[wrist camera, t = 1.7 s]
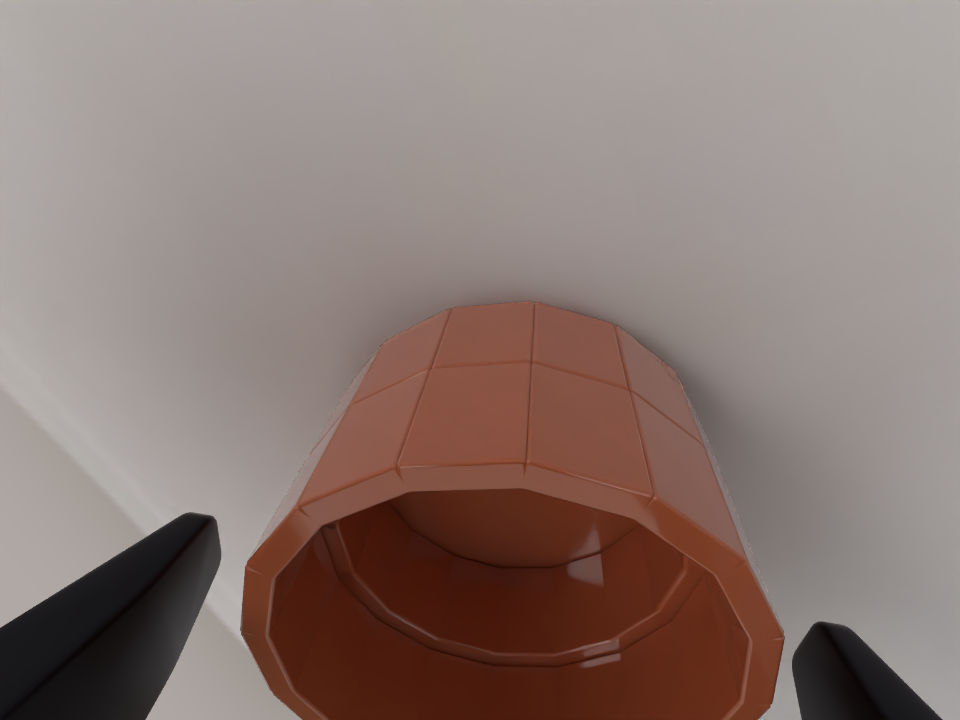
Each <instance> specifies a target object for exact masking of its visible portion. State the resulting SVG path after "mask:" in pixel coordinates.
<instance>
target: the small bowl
mask: <svg viewBox="0 0 960 720" xmlns="http://www.w3.org/2000/svg"><path fill="white" fill-rule="evenodd" d="M240 631H241V635H242V637H243V639H244V641H245V643H246V645H247V647H248V649H249V651H250V652H251V654H252V656H253V658H254V660H255V662H256V664H257V666H258V668H259V670H260V672H261V674H262V676H263V678H264V680H265V682H266V684H267V685H268V687H269V689H270V691H272V693H273V694H274V695H275V696H276V697H277V698H278V699H279V700H280V701H281V702H283V703H284V704H285V705H286V706H287V707H288V708H289V709H291V710H292V711H293V712H294V713H295V714H296V715H298V716H299V717H300V718H301V719H302V720H758V719H759V718H760V717H761V716H762V715H763V714H764V713H765V712H766V711H767V710H768V709H769V708H770V705H771V704H772V702H773V697H774V692H775V686H776V681H777V676H778V671H779V665H780V660H781V655H782V650H783V644H784V638H785V637H784V631H783V629H782V626H781V624H780V621H779V619H778V616H777V613H776V611H775V608H774V606H773V603H772V601H771V598H770V596H769V593H768V591H767V588H766V586H765V583H764V581H763V578H762V576H761V573H760V570H759V568H758V565H757V563H756V560H755V558H754V555H753V553H752V550H751V548H750V545H749V543H748V540H747V538H746V535H745V533H744V530H743V528H742V525H741V522H740V520H739V517H738V515H737V512H736V510H735V508H734V505H733V502H732V500H731V497H730V495H729V492H728V490H727V487H726V485H725V482H724V480H723V477H722V474H721V472H720V469H719V467H718V464H717V462H716V459H715V457H714V454H713V452H712V449H711V447H710V444H709V442H708V439H707V437H706V434H705V432H704V429H703V427H702V425H701V423H700V421H699V419H698V417H697V414H696V412H695V410H694V408H693V406H692V404H691V402H690V400H689V398H688V396H687V393H686V391H685V389H684V387H683V385H682V383H681V381H680V379H679V377H678V375H677V374H676V373H675V371H674V370H673V369H672V368H671V367H669V366H668V365H667V364H666V363H664V362H663V361H662V360H661V359H659V358H658V357H657V356H656V355H654V354H653V353H652V352H651V351H649V350H648V349H647V348H645V347H644V346H643V345H642V344H640V343H639V342H638V341H637V340H635V339H634V338H633V337H632V336H630V335H629V334H628V333H627V332H625V331H624V330H623V329H622V328H620V327H619V326H617V325H613V324H612V323H609V322H606V321H602V320H599V319H595V318H592V317H588V316H585V315H581V314H578V313H574V312H571V311H567V310H564V309H561V308H557V307H554V306H550V305H547V304H543V303H540V302H536V303H535V304H534V302H533V301H525V302H513V303H500V304H488V305H476V306H463V307H454V308H452V309H447V310H445V311H443V312H441V313H439V314H437V315H435V316H433V317H431V318H429V319H427V320H425V321H423V322H421V323H419V324H417V325H415V326H413V327H411V328H409V329H407V330H405V331H403V332H401V333H399V334H397V335H395V336H393V337H391V338H389V339H387V340H386V341H385V343H384V344H382V345H381V346H380V347H379V348H378V350H377V351H376V352H375V353H374V355H373V356H372V357H371V358H370V360H369V361H368V362H367V364H366V365H365V366H364V367H363V369H362V370H361V371H360V373H359V374H358V375H357V376H356V378H355V379H354V380H353V381H352V383H351V384H350V385H349V387H348V388H347V389H346V391H345V392H344V394H343V396H342V398H341V399H340V401H339V403H338V405H337V406H336V408H335V410H334V412H333V413H332V415H331V417H330V419H329V420H328V422H327V424H326V426H325V427H324V429H323V431H322V433H321V434H320V436H319V438H318V440H317V441H316V443H315V445H314V447H313V448H312V450H311V452H310V454H309V456H308V458H307V459H306V460H305V462H304V464H303V465H302V467H301V469H300V471H299V472H298V474H297V476H296V477H295V479H294V481H293V483H292V484H291V486H290V488H289V490H288V491H287V493H286V495H285V497H284V498H283V500H282V502H281V504H280V505H279V507H278V509H277V511H276V512H275V514H274V516H273V518H272V519H271V521H270V523H269V525H268V526H267V528H266V530H265V532H264V533H263V535H262V537H261V539H260V540H259V542H258V544H257V546H256V547H255V549H254V551H253V553H252V554H251V556H250V558H249V560H248V561H247V564H246V566H245V576H244V589H243V602H242V615H241V627H240Z"/></svg>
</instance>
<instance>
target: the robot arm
mask: <svg viewBox="0 0 960 720" xmlns="http://www.w3.org/2000/svg"><path fill="white" fill-rule="evenodd" d="M220 561H221V547H220V540H219V533H218V526H217V521H216V519H215V518H214V517H213V516H210V515H205V514H199V513H193V512H189V513H185V514H183V515H181V516H179V517H178V518H176V519H174V520H173V521H171V522H170V523H168V524H166V525H165V526H163V527H162V528H160V529H158V530H157V531H155V532H153V533H152V534H150V535H149V536H147V537H145V538H144V539H143V540H141V541H139V542H137V543H136V544H134V545H133V546H131V547H129V548H128V549H126V550H125V551H123V552H121V553H120V554H118V555H117V556H115V557H113V558H112V559H110V560H109V561H107V562H105V563H104V564H102V565H101V566H99V567H97V568H96V569H94V570H93V571H91V572H89V573H88V574H86V575H85V576H83V577H82V578H80V579H78V580H77V581H75V582H73V583H72V584H70V585H68V586H67V587H65V588H64V589H62V590H60V591H59V592H57V593H56V594H54V595H52V596H51V597H49V598H48V599H46V600H44V601H43V602H41V603H40V604H38V605H36V606H35V607H33V608H32V609H30V610H28V611H27V612H25V613H24V614H22V615H20V616H19V617H17V618H15V619H14V620H13V621H11V622H9V623H8V624H6V625H4V626H3V627H1V628H0V720H145V719H146V718H147V716H148V714H149V712H150V711H151V709H152V707H153V705H154V704H155V702H156V700H157V698H158V696H159V695H160V693H161V691H162V689H163V688H164V686H165V684H166V682H167V680H168V678H169V677H170V675H171V673H172V671H173V669H174V667H175V665H176V663H177V661H178V659H179V656H180V654H181V652H182V650H183V647H184V645H185V643H186V641H187V639H188V636H189V634H190V632H191V629H192V627H193V625H194V623H195V620H196V618H197V616H198V614H199V611H200V609H201V606H202V604H203V602H204V600H205V598H206V596H207V593H208V591H209V589H210V586H211V584H212V582H213V580H214V577H215V575H216V573H217V571H218V568H219V565H220ZM792 671H793V677H794V682H795V687H796V692H797V698H798V703H799V708H800V713H801V718H802V720H942V719H941V718H940V717H939V716H938V715H937V714H936V713H935V712H934V711H933V710H932V709H931V708H930V707H929V706H928V705H927V704H926V703H925V702H924V701H923V700H922V699H921V698H920V697H919V696H918V695H917V694H916V693H915V692H914V691H913V690H912V689H911V688H910V687H909V686H908V685H907V684H906V683H905V682H904V681H903V680H902V679H901V678H900V677H899V676H898V675H897V674H896V673H895V672H894V671H893V670H892V669H891V668H890V667H889V666H888V665H887V664H886V663H885V662H884V661H883V660H882V659H881V658H880V657H879V656H878V655H877V654H876V653H875V652H874V651H873V650H872V649H871V648H870V647H869V646H868V645H867V644H866V643H865V642H864V641H863V640H862V639H861V638H860V637H859V636H858V635H857V634H856V633H855V632H853V631H852V630H851V629H850V628H848V627H846V626H844V625H840V624H834V623H828V622H817V623H815V624H813V626H812V627H811V628H810V630H809V631H808V633H807V634H806V636H805V637H804V639H803V640H802V642H801V643H800V645H799V646H798V648H797V649H796V651H795V653H794V655H793V659H792Z"/></svg>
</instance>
